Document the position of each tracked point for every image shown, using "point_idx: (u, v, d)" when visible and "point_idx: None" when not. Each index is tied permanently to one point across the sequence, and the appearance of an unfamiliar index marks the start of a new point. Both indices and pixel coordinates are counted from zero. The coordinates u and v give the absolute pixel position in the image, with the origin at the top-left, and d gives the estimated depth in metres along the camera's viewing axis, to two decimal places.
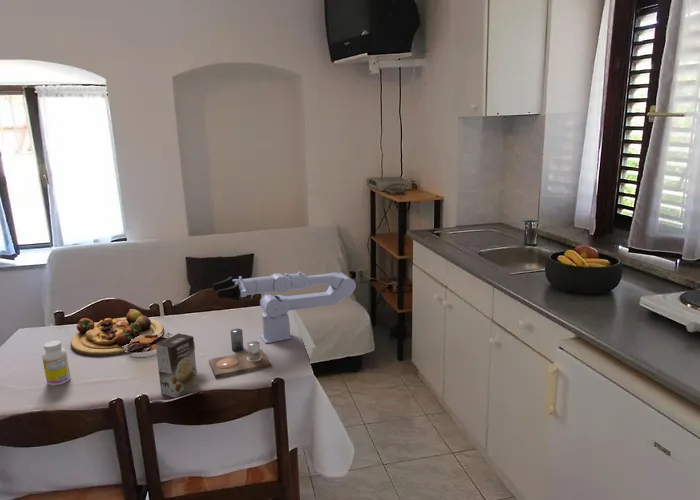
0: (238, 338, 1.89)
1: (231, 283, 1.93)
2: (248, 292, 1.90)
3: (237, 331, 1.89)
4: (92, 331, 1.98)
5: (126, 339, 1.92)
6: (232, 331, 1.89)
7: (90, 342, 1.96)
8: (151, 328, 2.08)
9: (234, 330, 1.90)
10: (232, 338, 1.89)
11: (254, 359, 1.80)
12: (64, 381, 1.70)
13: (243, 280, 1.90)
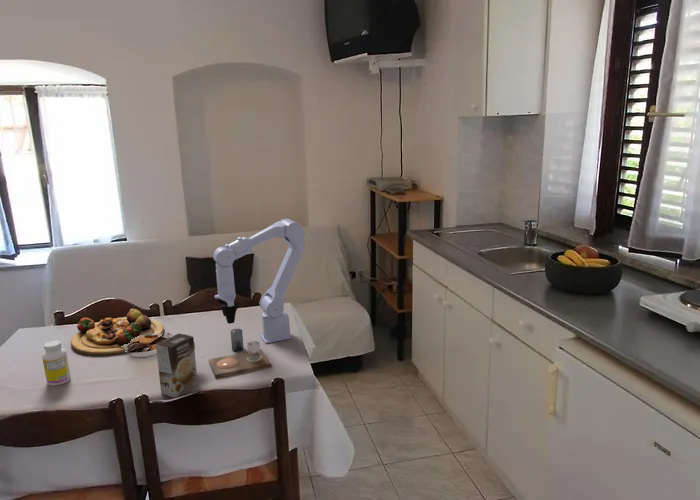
0: (238, 338, 1.89)
1: None
2: (231, 291, 1.87)
3: (237, 331, 1.89)
4: (92, 331, 1.98)
5: (126, 339, 1.93)
6: (232, 331, 1.89)
7: (90, 342, 1.96)
8: (151, 328, 2.08)
9: (234, 330, 1.90)
10: (232, 338, 1.89)
11: (254, 359, 1.80)
12: (64, 381, 1.70)
13: (218, 294, 1.87)
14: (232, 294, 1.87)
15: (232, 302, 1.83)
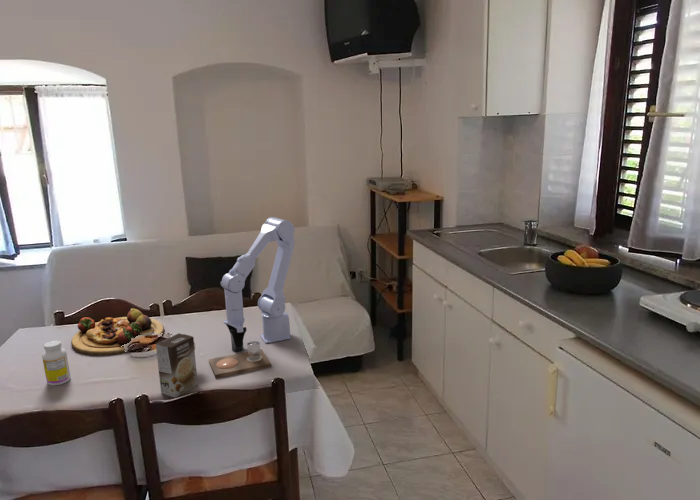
0: None
1: None
2: (240, 316, 1.87)
3: None
4: (93, 330, 1.98)
5: (126, 338, 1.93)
6: None
7: (90, 341, 1.97)
8: (151, 327, 2.08)
9: None
10: (232, 338, 1.89)
11: (254, 359, 1.80)
12: (64, 381, 1.70)
13: (227, 320, 1.87)
14: (241, 320, 1.87)
15: (241, 328, 1.83)
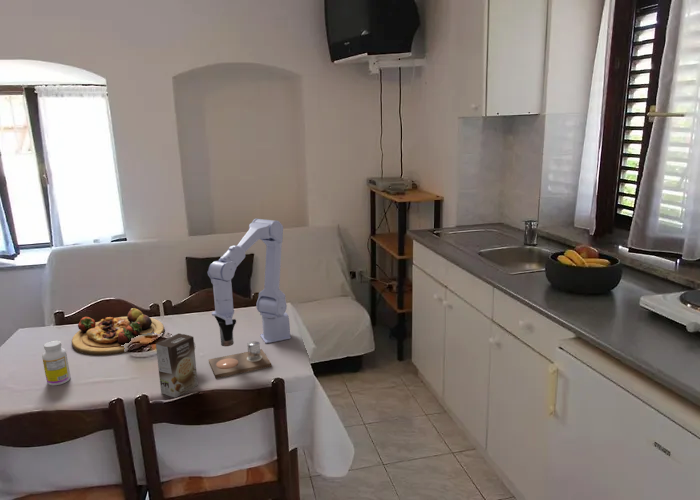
0: None
1: None
2: (229, 307, 1.74)
3: None
4: (93, 330, 1.99)
5: (126, 338, 1.93)
6: None
7: (90, 341, 1.97)
8: (152, 327, 2.08)
9: None
10: (221, 332, 1.76)
11: (254, 359, 1.80)
12: (64, 381, 1.70)
13: (216, 311, 1.74)
14: (230, 311, 1.74)
15: (230, 320, 1.70)
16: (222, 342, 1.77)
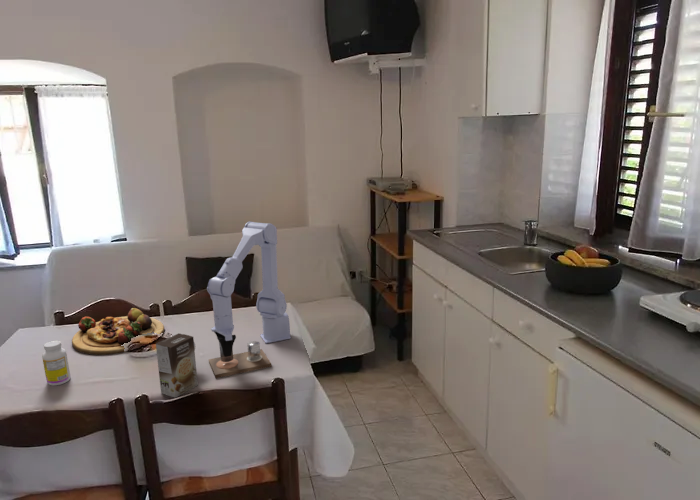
0: None
1: None
2: (229, 323, 1.73)
3: None
4: (93, 329, 1.99)
5: (126, 338, 1.93)
6: None
7: (90, 341, 1.97)
8: (152, 327, 2.09)
9: None
10: (221, 347, 1.75)
11: (254, 359, 1.80)
12: (64, 381, 1.70)
13: (215, 327, 1.73)
14: (230, 327, 1.73)
15: (230, 336, 1.69)
16: (222, 358, 1.76)
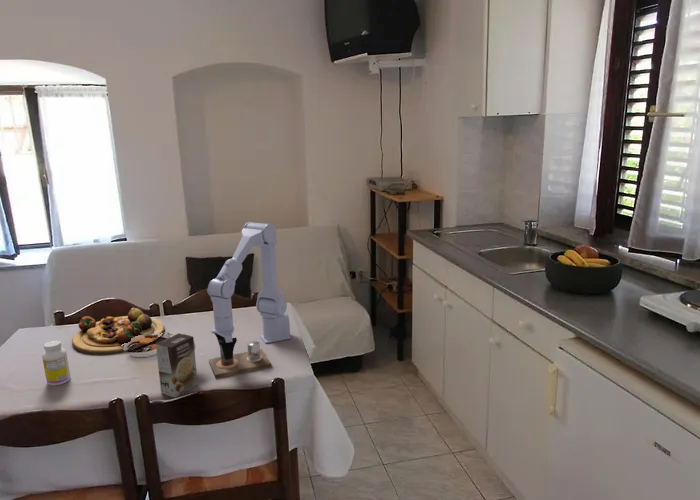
0: None
1: None
2: (229, 325, 1.73)
3: None
4: (93, 329, 1.99)
5: (126, 337, 1.94)
6: None
7: (91, 340, 1.97)
8: (152, 327, 2.09)
9: None
10: (222, 351, 1.76)
11: (254, 359, 1.80)
12: (64, 381, 1.70)
13: (215, 329, 1.73)
14: (230, 328, 1.74)
15: (230, 338, 1.69)
16: (222, 361, 1.77)
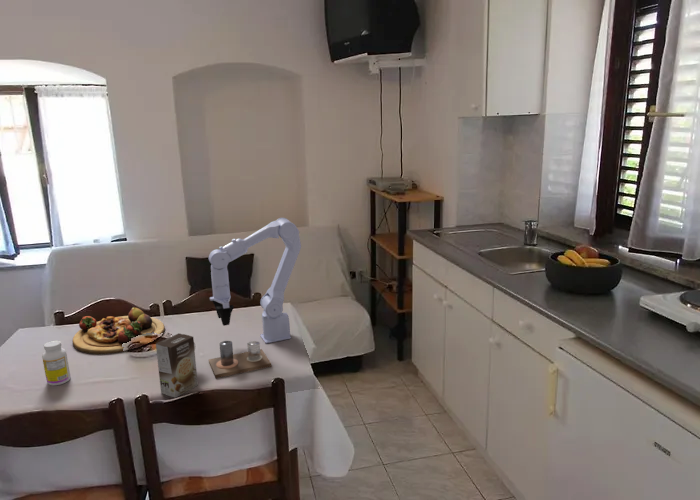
0: (228, 351, 1.75)
1: None
2: (226, 293, 1.88)
3: (227, 344, 1.76)
4: (94, 329, 2.00)
5: (126, 337, 1.94)
6: (221, 344, 1.76)
7: (91, 340, 1.98)
8: (152, 327, 2.09)
9: (223, 343, 1.77)
10: (221, 351, 1.76)
11: (254, 359, 1.80)
12: (64, 381, 1.70)
13: (214, 296, 1.88)
14: (227, 296, 1.88)
15: (227, 304, 1.84)
16: (222, 362, 1.77)
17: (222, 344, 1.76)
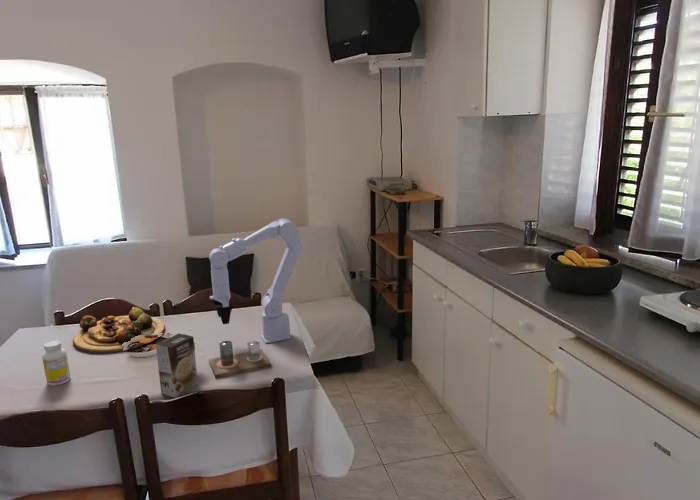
0: (228, 351, 1.75)
1: None
2: (226, 292, 1.89)
3: (227, 344, 1.76)
4: (94, 328, 2.00)
5: (126, 337, 1.94)
6: (221, 344, 1.76)
7: (91, 339, 1.98)
8: (152, 326, 2.09)
9: (223, 343, 1.77)
10: (221, 351, 1.76)
11: (254, 359, 1.80)
12: (64, 381, 1.70)
13: (213, 295, 1.89)
14: (227, 295, 1.89)
15: (227, 303, 1.85)
16: (222, 362, 1.77)
17: (222, 344, 1.76)
